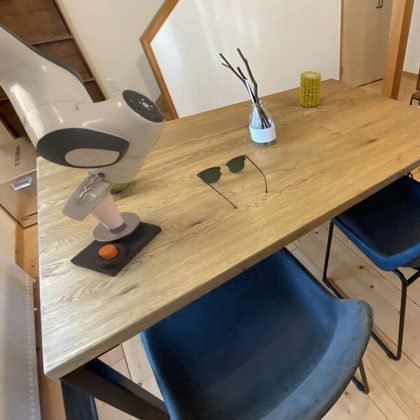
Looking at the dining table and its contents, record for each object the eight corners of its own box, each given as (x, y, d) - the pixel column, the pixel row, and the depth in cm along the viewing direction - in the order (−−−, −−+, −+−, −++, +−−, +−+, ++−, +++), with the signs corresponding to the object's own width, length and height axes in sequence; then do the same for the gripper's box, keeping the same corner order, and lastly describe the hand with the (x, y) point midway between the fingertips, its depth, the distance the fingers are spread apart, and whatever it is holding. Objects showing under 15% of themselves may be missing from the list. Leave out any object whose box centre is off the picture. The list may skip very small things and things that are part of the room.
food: (308, 102, 138) (323, 108, 133) (291, 103, 130) (306, 110, 125) (313, 69, 130) (329, 74, 125) (295, 68, 122) (311, 74, 117)
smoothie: (120, 233, 65) (84, 186, 55) (93, 233, 65) (53, 186, 55) (134, 214, 69) (103, 168, 60) (109, 214, 69) (75, 168, 60)
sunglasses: (226, 214, 76) (222, 200, 72) (200, 186, 85) (195, 173, 82) (276, 189, 84) (274, 175, 80) (247, 166, 93) (244, 153, 90)
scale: (114, 277, 61) (106, 269, 59) (73, 264, 63) (65, 256, 61) (162, 229, 71) (157, 221, 69) (125, 220, 74) (119, 212, 72)
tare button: (110, 261, 61) (105, 256, 60) (99, 258, 61) (95, 253, 60) (121, 251, 63) (117, 246, 62) (110, 248, 64) (106, 243, 62)
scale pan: (117, 246, 63) (115, 245, 63) (83, 237, 66) (82, 235, 65) (149, 217, 70) (148, 216, 70) (118, 210, 73) (117, 208, 72)
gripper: (102, 203, 49) (80, 240, 56) (152, 145, 64) (131, 180, 71) (60, 183, 46) (42, 225, 53) (124, 128, 61) (104, 166, 68)
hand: (93, 199), depth 62 cm, fingers closed on smoothie, 6 cm apart
